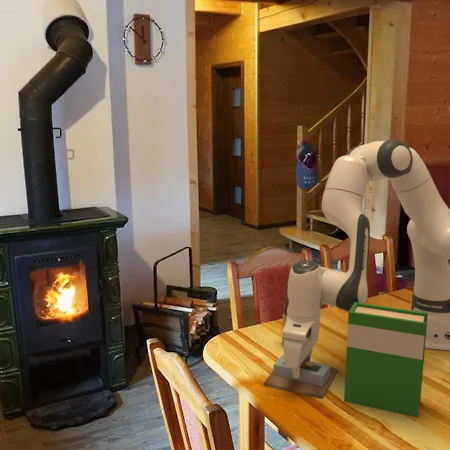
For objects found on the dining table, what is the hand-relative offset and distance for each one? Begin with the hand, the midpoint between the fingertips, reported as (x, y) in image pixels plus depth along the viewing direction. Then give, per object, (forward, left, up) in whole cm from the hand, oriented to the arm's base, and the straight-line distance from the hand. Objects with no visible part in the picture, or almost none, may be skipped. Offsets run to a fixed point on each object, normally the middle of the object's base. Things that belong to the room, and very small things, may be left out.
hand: (302, 369), depth 148 cm
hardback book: (-22, +3, -3) cm, 22 cm away
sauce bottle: (+9, -19, -3) cm, 21 cm away
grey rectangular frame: (0, 0, -2) cm, 2 cm away
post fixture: (0, 0, -3) cm, 3 cm away
